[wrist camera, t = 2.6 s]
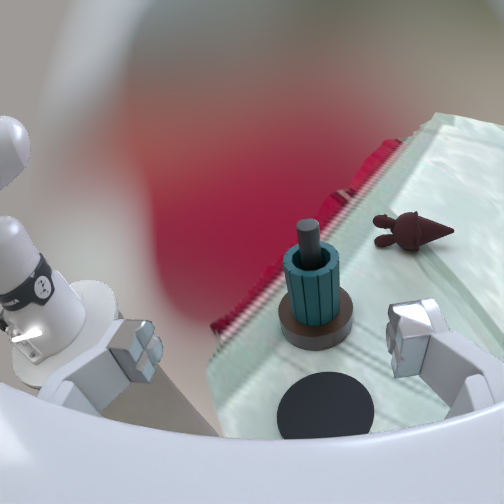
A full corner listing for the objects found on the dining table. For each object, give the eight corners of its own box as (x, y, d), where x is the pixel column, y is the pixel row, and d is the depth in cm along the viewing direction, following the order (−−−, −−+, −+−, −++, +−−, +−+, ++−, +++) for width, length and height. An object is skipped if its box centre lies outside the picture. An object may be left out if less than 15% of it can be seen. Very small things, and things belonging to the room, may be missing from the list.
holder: (276, 350, 39) (252, 256, 29) (285, 295, 47) (267, 204, 37) (352, 350, 36) (358, 252, 27) (350, 294, 44) (350, 199, 34)
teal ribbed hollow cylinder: (289, 326, 38) (280, 277, 33) (294, 290, 43) (286, 242, 38) (339, 325, 36) (339, 275, 31) (339, 289, 41) (337, 239, 36)
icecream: (450, 205, 45) (372, 206, 52) (459, 217, 39) (371, 219, 46) (449, 241, 48) (374, 242, 55) (457, 258, 42) (373, 258, 48)
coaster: (270, 455, 28) (269, 454, 27) (284, 373, 36) (283, 370, 36) (372, 457, 25) (372, 456, 24) (372, 372, 33) (373, 370, 33)
